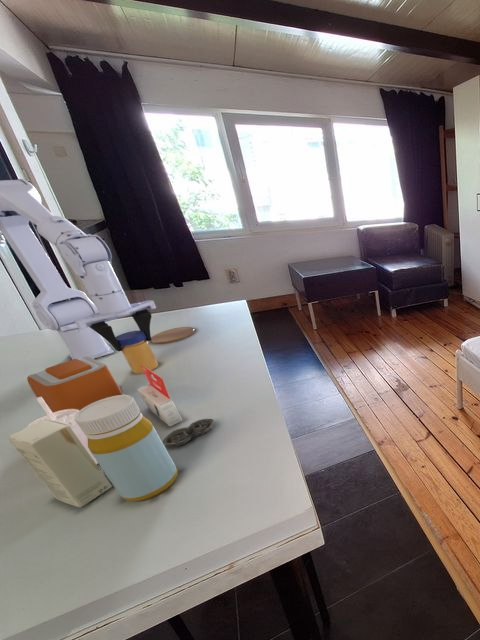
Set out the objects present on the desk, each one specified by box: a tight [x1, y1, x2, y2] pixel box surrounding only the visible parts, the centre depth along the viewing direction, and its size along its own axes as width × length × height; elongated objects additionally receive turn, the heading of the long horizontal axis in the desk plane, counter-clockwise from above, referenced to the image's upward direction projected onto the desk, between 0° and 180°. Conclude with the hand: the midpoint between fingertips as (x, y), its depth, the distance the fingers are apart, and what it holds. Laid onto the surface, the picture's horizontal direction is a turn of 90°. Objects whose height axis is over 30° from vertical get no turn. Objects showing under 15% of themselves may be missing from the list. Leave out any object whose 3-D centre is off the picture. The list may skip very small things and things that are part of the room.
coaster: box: [150, 326, 196, 344], centre depth 111 cm, size 11×11×1 cm
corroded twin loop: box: [162, 418, 214, 447], centre depth 67 cm, size 5×8×1 cm, turn 140°
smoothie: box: [25, 397, 99, 465], centre depth 58 cm, size 6×6×14 cm
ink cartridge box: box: [137, 365, 183, 427], centre depth 71 cm, size 2×11×10 cm, turn 56°
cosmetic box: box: [6, 419, 113, 508], centre depth 53 cm, size 6×4×12 cm
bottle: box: [75, 394, 179, 502], centre depth 53 cm, size 7×7×15 cm
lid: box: [115, 330, 147, 346], centre depth 89 cm, size 6×6×2 cm
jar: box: [121, 340, 159, 374], centre depth 90 cm, size 5×5×8 cm
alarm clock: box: [26, 357, 124, 413], centre depth 69 cm, size 15×8×14 cm, turn 62°
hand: (133, 345), depth 89 cm, fingers closed on lid, 5 cm apart
